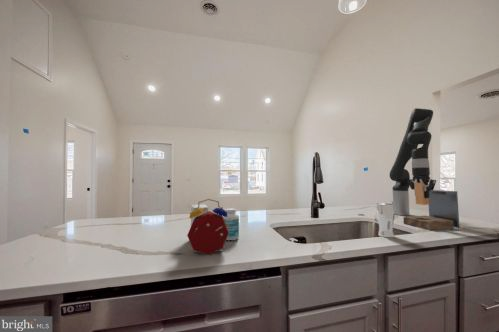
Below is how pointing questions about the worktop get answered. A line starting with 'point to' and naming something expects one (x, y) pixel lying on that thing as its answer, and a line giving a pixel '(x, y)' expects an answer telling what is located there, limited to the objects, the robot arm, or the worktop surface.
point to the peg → (420, 194)
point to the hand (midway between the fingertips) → (422, 197)
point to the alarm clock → (208, 230)
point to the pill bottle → (232, 224)
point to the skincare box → (198, 208)
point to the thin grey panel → (444, 205)
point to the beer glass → (385, 219)
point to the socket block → (428, 222)
